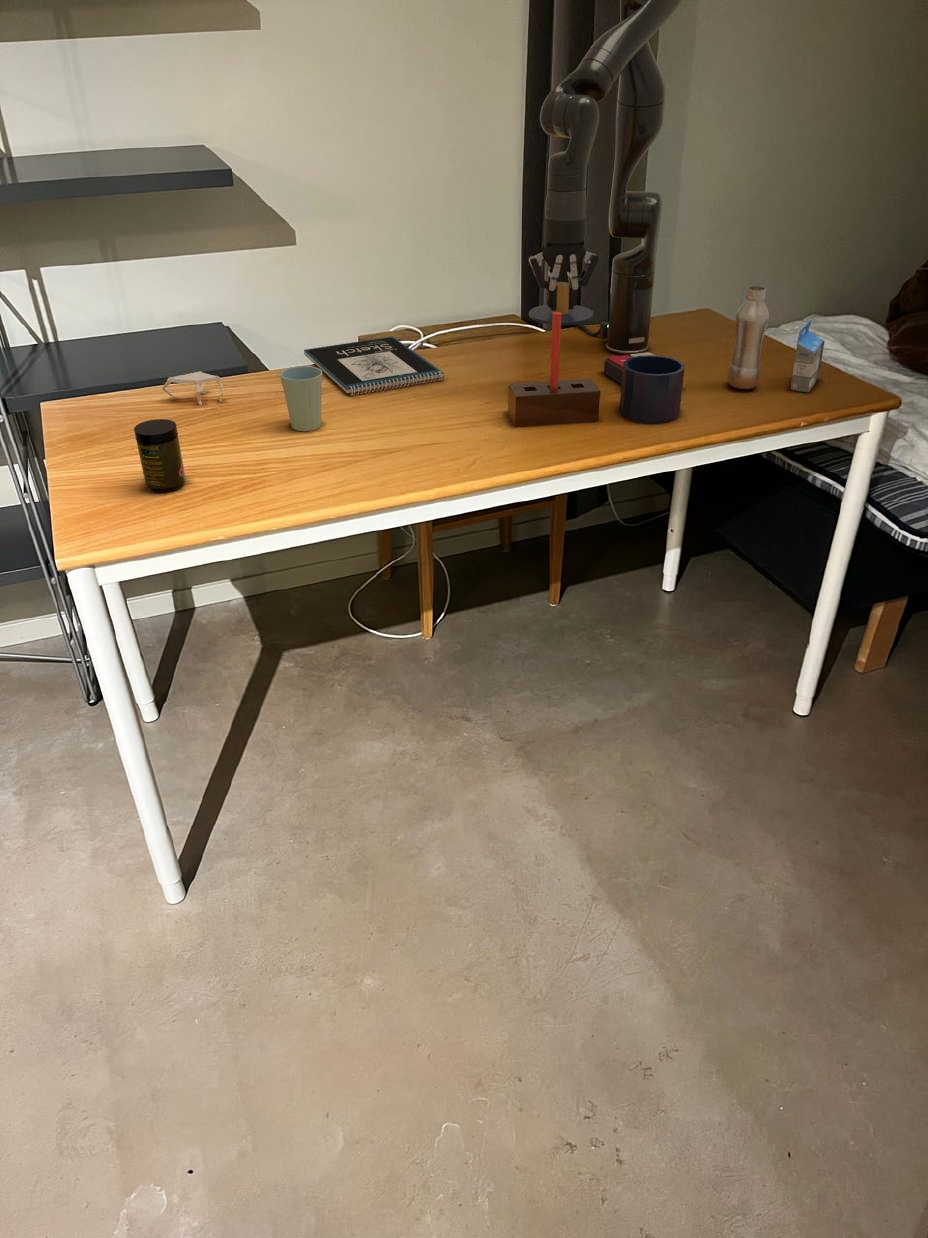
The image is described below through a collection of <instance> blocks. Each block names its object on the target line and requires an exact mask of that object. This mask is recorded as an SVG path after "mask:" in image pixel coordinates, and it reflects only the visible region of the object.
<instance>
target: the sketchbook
mask: <svg viewBox="0 0 928 1238" xmlns="http://www.w3.org/2000/svg"><path fill="white" fill-rule="evenodd" d="M303 354H304V356H305V357H306V358H308V360H310V361H311V362H312V363H313V364H314V365H315V366H316V368H319V369H320V370H321V371H322V373H323V374H325V375H326V376H327V378H329V379H330V380H331V381H332V382H333V383H335V384H336V385H337V386H338V387H339V388H340V389H341V390H342V391H343V392H344V393H345V394H347V395H350V396H355V395H362V394H367V393H368V394H369V393H371V392H372V393H374V392H378V391H381V392H382V391H383V390H384V391H386V390H391V389H392V390H394V388H395V389H398V388H402V387H404V388H405V387H409V386H414V385H415V386H416V385H420V384H428V383H432V382H436V381H437V382H439V381H443V379H444V378H445V372H443V371H442V370H441V369H439V368H438V367H436V366H435V365H434V364H432V363H431V362H429V361H428V360H427V359H425V358H423V357H422V355H419V354H418V353H417V352H416V351H414V350H413V349H411V348H410V347H408V346H407V345H406V344H404V343H402V342H401V341H400V340H398V339H397V338H396V337H394V336H386V337H385V336H384V337H379V338H373V339H366V340H359V341H352V342H347V343H339V344H333V345H327V346H321V347H320V346H319V347H313V348H312V347H311V348H306V349H303Z"/></svg>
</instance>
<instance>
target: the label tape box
mask: <svg viewBox="0 0 928 1238" xmlns="http://www.w3.org/2000/svg"><path fill="white" fill-rule="evenodd" d="M812 321H813V319H812V318H811V319H809V320H808V321H807V322H806V323H805V325H804V326H802V328H800V329H799V333H798V337H797V341H796V349H795V355H794V362H793V369H792V376H791V383H790V390H791V391H795V392H800V393H810V392H811V390H812V389H813V387H814V386H815V384H816V383H817V382H818V381H819V378H820V373H821V366H822V360H823V354H824V347H825V340H824V339H823V338H821V337H819V336H817V335H816V334H815V333H813V332H811V331H810V328H811V324H812Z"/></svg>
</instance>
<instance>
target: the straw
mask: <svg viewBox="0 0 928 1238" xmlns="http://www.w3.org/2000/svg"><path fill="white" fill-rule="evenodd" d="M561 314H562V313H561V312H553V318H552V325H551V343H550V344H551V345H550V346H551V347H550V369H549V381H550V390H554V389H558V381H559V380H560V379H559V377H560V376H559V375H560V353H561V336H562V335H561V334H562V325H561Z"/></svg>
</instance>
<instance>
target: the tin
mask: <svg viewBox="0 0 928 1238" xmlns="http://www.w3.org/2000/svg"><path fill="white" fill-rule="evenodd" d="M685 368H686V365H685V363H683V362H682V361H681V360H679V359H676V358H674V357H670V356H666V355H657V354H654V355H643V356H636V357H631V358H629V359H627V360H625V361H624V364H623V372H622V384H620V386H621V387H620V399H619V408H618V409H619V414H620V415H621V416H622V417H623V418H625V419H626V420H629V421H631V422H636V423H640V424H648V425H658V424H666V423H671V422H673V421H675V420H676V419H678V418H679V417H680V411H681V401H682V393H683V387H682V386H683V385H684V377H685V376H684V375H685Z"/></svg>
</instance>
